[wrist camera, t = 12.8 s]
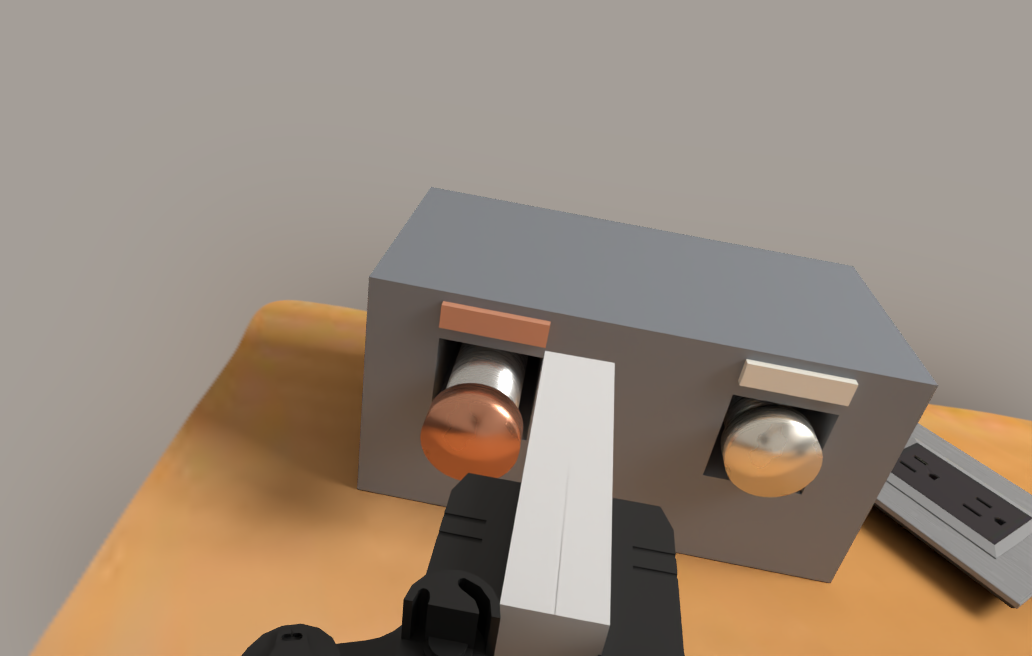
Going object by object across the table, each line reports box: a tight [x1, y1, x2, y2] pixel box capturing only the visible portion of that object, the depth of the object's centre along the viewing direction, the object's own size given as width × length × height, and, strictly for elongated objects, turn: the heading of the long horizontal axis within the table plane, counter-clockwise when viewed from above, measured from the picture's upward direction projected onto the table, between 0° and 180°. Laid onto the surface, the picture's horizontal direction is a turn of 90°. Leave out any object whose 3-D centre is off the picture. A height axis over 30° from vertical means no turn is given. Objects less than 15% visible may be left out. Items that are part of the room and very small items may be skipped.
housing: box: [357, 187, 938, 583], centre depth 41 cm, size 13×26×13 cm, turn 83°
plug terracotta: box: [420, 342, 529, 481], centre depth 36 cm, size 12×4×4 cm, turn 173°
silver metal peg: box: [721, 395, 823, 497], centre depth 39 cm, size 12×4×4 cm, turn 173°
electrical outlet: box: [873, 423, 1032, 608], centre depth 45 cm, size 13×10×2 cm
